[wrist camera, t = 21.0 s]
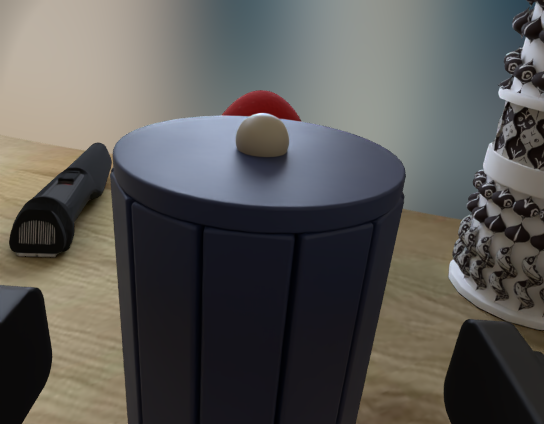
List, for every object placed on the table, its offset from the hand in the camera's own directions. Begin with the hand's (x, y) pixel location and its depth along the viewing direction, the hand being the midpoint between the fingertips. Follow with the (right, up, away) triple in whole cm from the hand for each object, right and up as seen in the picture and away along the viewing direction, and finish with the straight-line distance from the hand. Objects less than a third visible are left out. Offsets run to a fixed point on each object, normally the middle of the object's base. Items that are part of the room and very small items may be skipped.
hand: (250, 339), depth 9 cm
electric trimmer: (-15, +3, +26) cm, 30 cm away
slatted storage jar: (-1, -5, +6) cm, 8 cm away
